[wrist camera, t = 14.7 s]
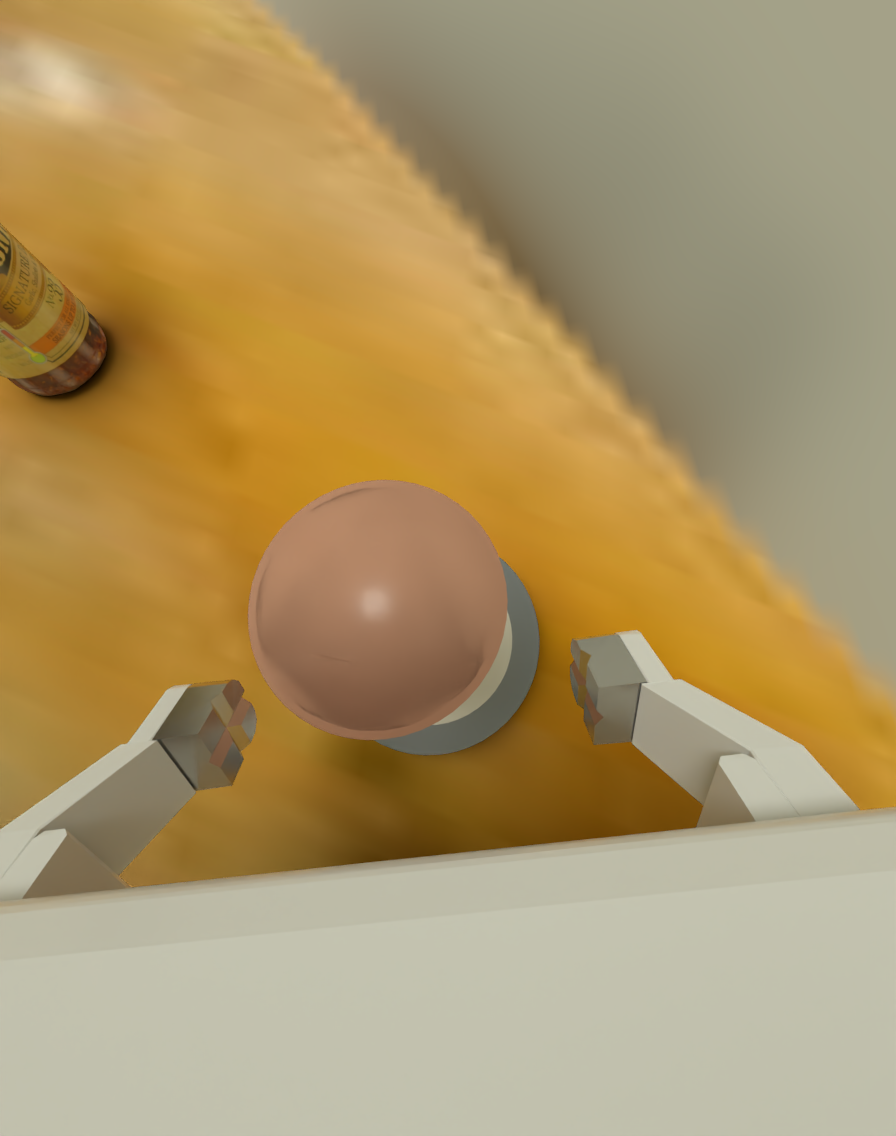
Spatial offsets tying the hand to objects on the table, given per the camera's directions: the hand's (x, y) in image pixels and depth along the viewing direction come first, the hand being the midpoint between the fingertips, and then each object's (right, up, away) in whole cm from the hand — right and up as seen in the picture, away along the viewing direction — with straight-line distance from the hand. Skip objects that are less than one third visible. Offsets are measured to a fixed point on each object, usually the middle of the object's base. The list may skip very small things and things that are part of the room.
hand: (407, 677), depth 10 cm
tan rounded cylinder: (0, 0, +7) cm, 7 cm away
